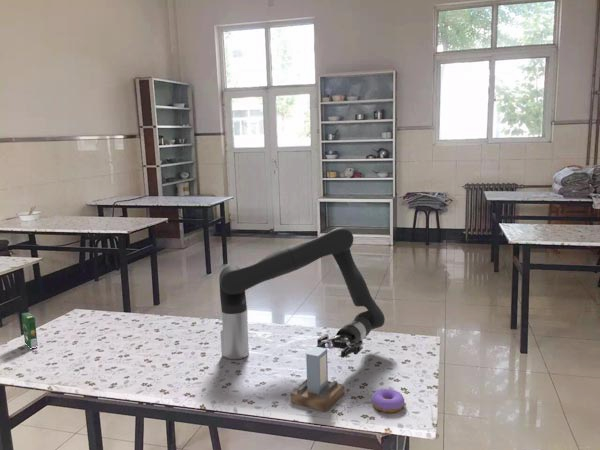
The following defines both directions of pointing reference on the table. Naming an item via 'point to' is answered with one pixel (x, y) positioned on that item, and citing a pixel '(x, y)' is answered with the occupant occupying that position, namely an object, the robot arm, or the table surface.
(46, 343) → the table surface
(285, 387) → the table surface
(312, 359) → the light blue rectangular block
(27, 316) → the coffee box
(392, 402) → the donut
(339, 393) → the display stand
